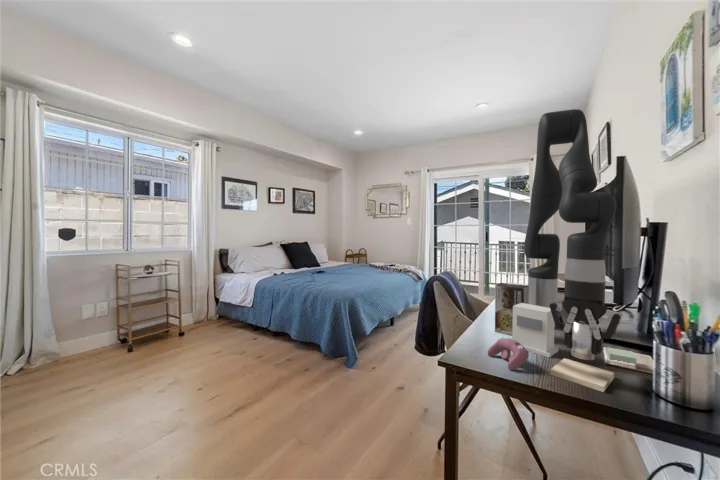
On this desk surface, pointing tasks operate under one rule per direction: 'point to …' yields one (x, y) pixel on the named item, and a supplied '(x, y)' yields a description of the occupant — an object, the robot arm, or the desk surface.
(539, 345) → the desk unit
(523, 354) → the video game controller
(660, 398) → the desk surface
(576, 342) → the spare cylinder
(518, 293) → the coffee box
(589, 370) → the birch pad
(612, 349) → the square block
